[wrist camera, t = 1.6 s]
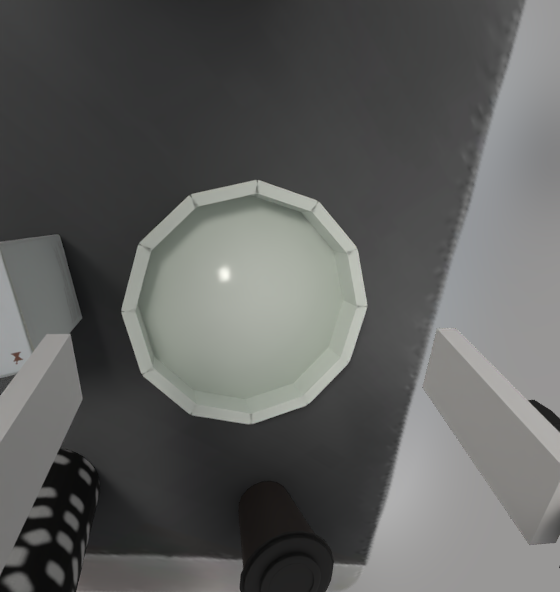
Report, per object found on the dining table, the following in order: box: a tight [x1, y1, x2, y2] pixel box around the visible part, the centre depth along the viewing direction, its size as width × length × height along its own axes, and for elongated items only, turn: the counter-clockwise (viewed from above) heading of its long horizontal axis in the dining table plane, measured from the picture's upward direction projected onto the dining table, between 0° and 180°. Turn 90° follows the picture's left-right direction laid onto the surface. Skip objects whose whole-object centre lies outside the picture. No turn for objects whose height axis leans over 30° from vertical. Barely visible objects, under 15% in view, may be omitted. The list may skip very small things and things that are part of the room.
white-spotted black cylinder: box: [0, 449, 100, 592], centre depth 27 cm, size 8×8×20 cm
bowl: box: [121, 180, 367, 424], centre depth 36 cm, size 20×20×4 cm
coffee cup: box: [238, 481, 334, 592], centre depth 38 cm, size 8×8×10 cm
